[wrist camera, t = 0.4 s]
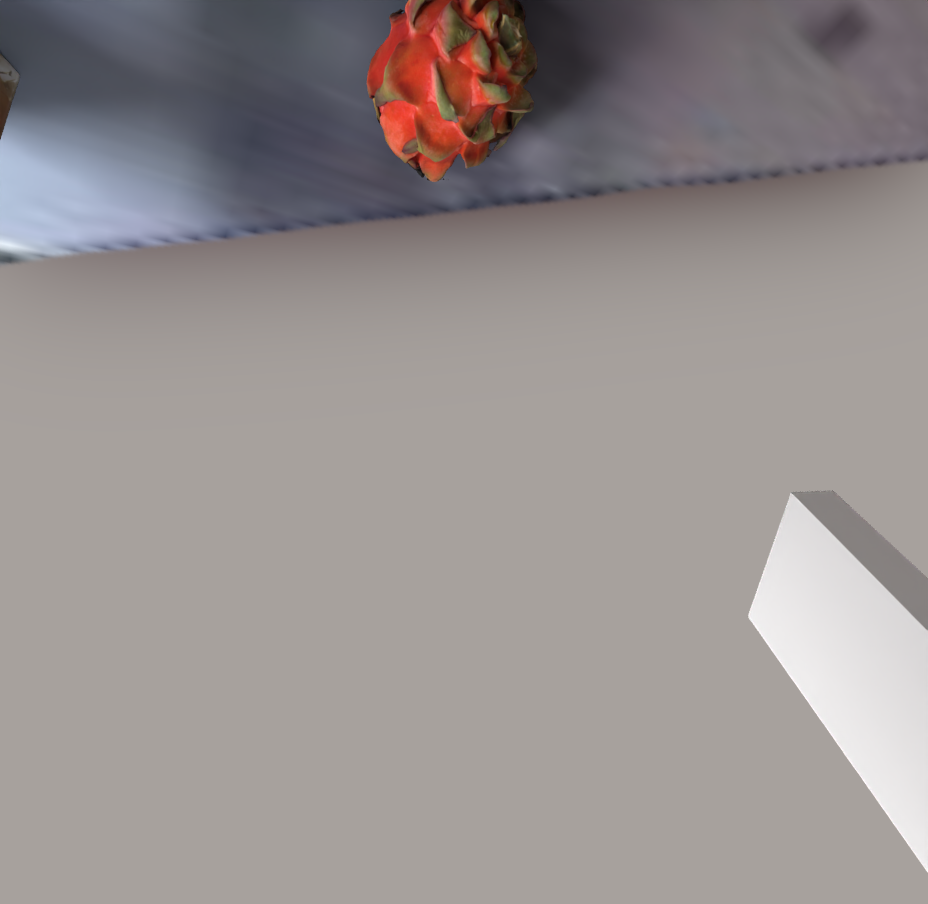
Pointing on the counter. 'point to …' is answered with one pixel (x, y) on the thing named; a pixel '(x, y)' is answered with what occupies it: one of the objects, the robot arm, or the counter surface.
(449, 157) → the dragon fruit
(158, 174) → the counter surface
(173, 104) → the counter surface
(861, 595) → the robot arm
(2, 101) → the coffee box
